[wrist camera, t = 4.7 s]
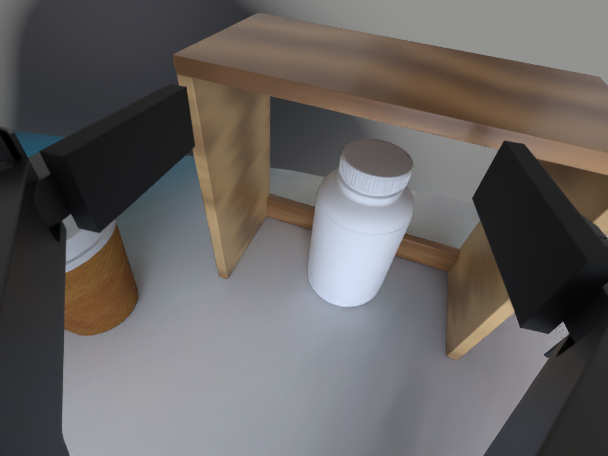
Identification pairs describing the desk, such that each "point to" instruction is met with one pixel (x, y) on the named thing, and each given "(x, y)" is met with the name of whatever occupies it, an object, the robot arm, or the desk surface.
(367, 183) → the pill bottle
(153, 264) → the desk surface
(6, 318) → the robot arm
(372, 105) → the open wooden shelf
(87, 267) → the disposable coffee cup
